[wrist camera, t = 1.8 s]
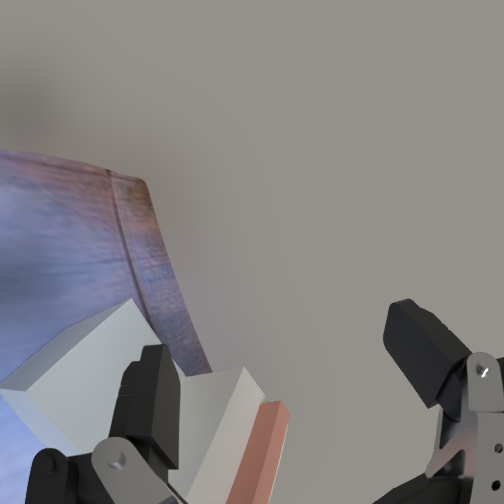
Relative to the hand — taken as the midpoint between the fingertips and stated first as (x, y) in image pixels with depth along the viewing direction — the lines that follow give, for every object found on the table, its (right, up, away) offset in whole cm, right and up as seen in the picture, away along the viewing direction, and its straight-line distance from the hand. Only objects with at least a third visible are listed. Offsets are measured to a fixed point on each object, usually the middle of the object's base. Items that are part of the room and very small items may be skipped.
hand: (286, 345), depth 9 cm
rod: (-3, -23, +11) cm, 26 cm away
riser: (-32, -27, +27) cm, 50 cm away
